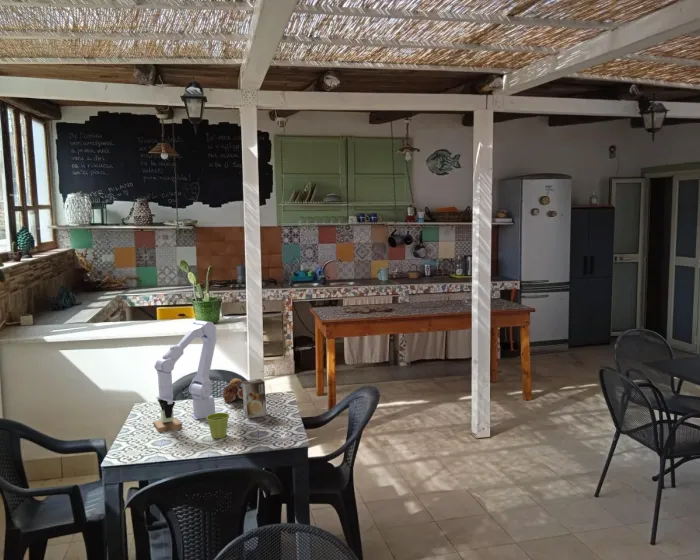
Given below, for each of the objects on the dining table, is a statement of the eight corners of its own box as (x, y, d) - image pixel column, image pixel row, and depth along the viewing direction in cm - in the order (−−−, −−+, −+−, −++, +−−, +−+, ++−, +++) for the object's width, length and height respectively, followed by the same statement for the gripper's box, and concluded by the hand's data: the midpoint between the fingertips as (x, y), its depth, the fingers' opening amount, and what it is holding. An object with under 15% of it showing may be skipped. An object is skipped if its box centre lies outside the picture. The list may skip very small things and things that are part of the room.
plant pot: (210, 442, 249) (209, 421, 248) (204, 435, 258) (203, 415, 257) (233, 437, 254) (232, 417, 253) (226, 431, 262) (225, 411, 261)
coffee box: (262, 411, 287) (261, 378, 285) (266, 415, 281) (265, 381, 279) (243, 414, 283) (242, 380, 281) (247, 418, 277) (245, 384, 275)
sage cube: (171, 418, 271) (170, 408, 271) (173, 420, 267) (173, 410, 267) (161, 419, 269) (160, 410, 269) (163, 422, 265) (162, 412, 265)
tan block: (176, 422, 275) (176, 417, 275) (182, 429, 267) (181, 423, 266) (153, 427, 270) (153, 421, 270) (158, 433, 262) (158, 427, 262)
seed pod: (211, 393, 295) (240, 383, 295) (214, 378, 310) (242, 368, 310) (221, 415, 299) (250, 405, 299) (224, 399, 314) (251, 389, 315)
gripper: (152, 383, 271) (153, 413, 272) (160, 391, 258) (161, 422, 260) (168, 381, 274) (169, 410, 276) (176, 388, 262) (178, 419, 263)
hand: (167, 416), depth 268 cm, fingers closed on sage cube, 4 cm apart
